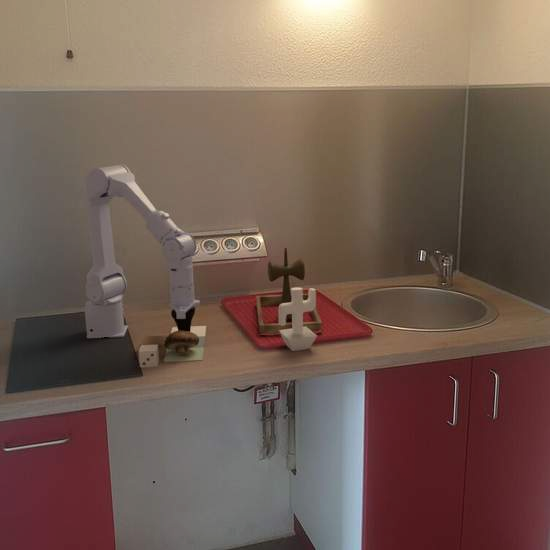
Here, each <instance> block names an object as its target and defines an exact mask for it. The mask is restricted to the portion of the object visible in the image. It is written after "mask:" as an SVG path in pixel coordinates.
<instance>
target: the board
mask: <svg viewBox="0 0 550 550" xmlns="http://www.w3.org/2000/svg"><path fill="white" fill-rule="evenodd" d="M175 331H178V328H177V326H173V327H172V328H171V332H170V334H171V333H173V332H175ZM206 331H207V325H195V326H192V325H191V329H190V332H192V333H194V334H196V335H197V336H198V337H199V343H198V345H197V346H195V347H193V348H190V349H188V355H181V354H178V353H177V352H176V350H170V349H167V350H166V354H165V356H164V359H163V363H177V362H180V363H181V362H197V361H198V362H199V361H200V362H202V361H203V358H204V349H205V341H206Z"/></svg>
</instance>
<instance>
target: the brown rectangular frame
mask: <svg viewBox="0 0 550 550" xmlns="http://www.w3.org/2000/svg"><path fill="white" fill-rule="evenodd" d="M255 297H256V298H255V300H256V303H255V304H256V315H257V314H258V315H257V323H259V324H258V332H260V334H277V333H280V332H279V330H284V329H291V328H292V322H286V325H285V326H281V325H279V322H278V323H264V320H263V312H262V307H266V306H267V307H269V306H271V307H273V306H279V305H280V304H279V303H278V301H279V300H280V299H281V297H282V294H275V295H274V294H273V295H256V296H255ZM305 300H308V293H303V301H305ZM309 312H310V314H312V315H311V318H312V317H313V318H312V320H313V319H314V320H313V321H309V322H308V321H305V322H304V321H303V327H305V326H306V327H307V328H308V329H310V330H311V331H319V330H322V331H323V323H322V319H321V317H320V314H319V312H318V310H317V307H315V309H314V310H313V311H309ZM260 334H259V335H260Z"/></svg>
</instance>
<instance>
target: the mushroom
mask: <svg viewBox="0 0 550 550" xmlns="http://www.w3.org/2000/svg"><path fill="white" fill-rule="evenodd" d="M198 343H199V337H198V336H197V335H196V334H194V333H192V332H189V331H182V330H179V331H175V332H173V333H171V332H170V334H168V335H167V338H166V340H165V346H166V348H167V349H170V350H176V352H177V353H178V354H181V355H188V349H190V348H193V347H195V346H197V345H198Z"/></svg>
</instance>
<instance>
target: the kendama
mask: <svg viewBox="0 0 550 550" xmlns="http://www.w3.org/2000/svg"><path fill="white" fill-rule="evenodd" d="M283 254H284V255H283V258H284V259H283V261H284V262H283V265H281V264H278V263H275V262H273V261H271V260H270V261H268V263H267V275H268V276H267V277H268V280H269V281H270V282H272V283H273V282H274V281H276V280H277V279H279V278H282V277H283V282H282V283H283V284H282V290H281V291H282V292H281V295H282V297H281V299H280V300H279V301H278V303H279V304H282V303H290V302H291V301H292V296H291V287H290V276H291V277H294V278H296V279H298V280H300V281H304V280H305V276H306V275H305V273H306V269H305V262H304V260H303V259H302V258H299V259H297V260H295V261H294V262H293V263H291V264H288V249H287V247H284V252H283ZM277 318H278V319H279V316H278V315H277ZM290 320H291V321H292V314H287V315H286V321H290Z"/></svg>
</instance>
